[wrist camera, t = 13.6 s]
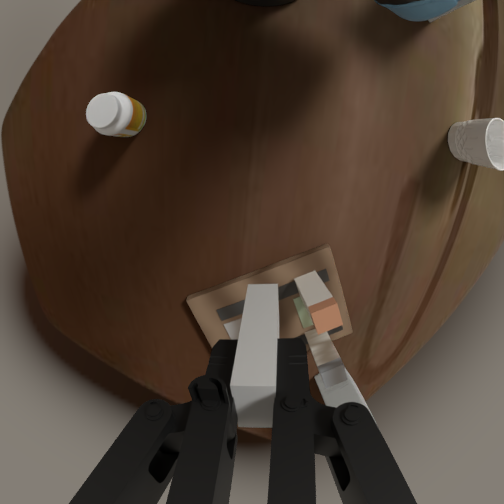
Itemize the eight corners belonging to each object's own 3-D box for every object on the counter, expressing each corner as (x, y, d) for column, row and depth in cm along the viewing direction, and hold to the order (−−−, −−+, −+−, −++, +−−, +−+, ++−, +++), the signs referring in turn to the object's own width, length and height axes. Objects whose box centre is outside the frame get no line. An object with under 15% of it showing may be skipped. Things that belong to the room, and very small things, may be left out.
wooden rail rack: (229, 371, 50) (230, 423, 38) (187, 296, 45) (175, 341, 33) (349, 327, 49) (377, 371, 37) (326, 243, 44) (358, 274, 32)
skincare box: (313, 375, 52) (334, 436, 37) (341, 359, 51) (370, 417, 37) (330, 398, 54) (352, 455, 40) (357, 383, 53) (384, 438, 39)
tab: (300, 297, 44) (318, 334, 34) (294, 278, 43) (311, 313, 33) (320, 289, 44) (343, 324, 34) (315, 270, 43) (337, 303, 33)
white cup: (465, 172, 41) (504, 180, 32) (438, 145, 40) (479, 148, 30) (479, 138, 39) (518, 141, 30) (454, 109, 38) (494, 106, 28)
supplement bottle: (137, 92, 35) (111, 77, 26) (153, 123, 37) (131, 115, 27) (105, 114, 35) (73, 106, 26) (121, 144, 37) (92, 144, 28)
